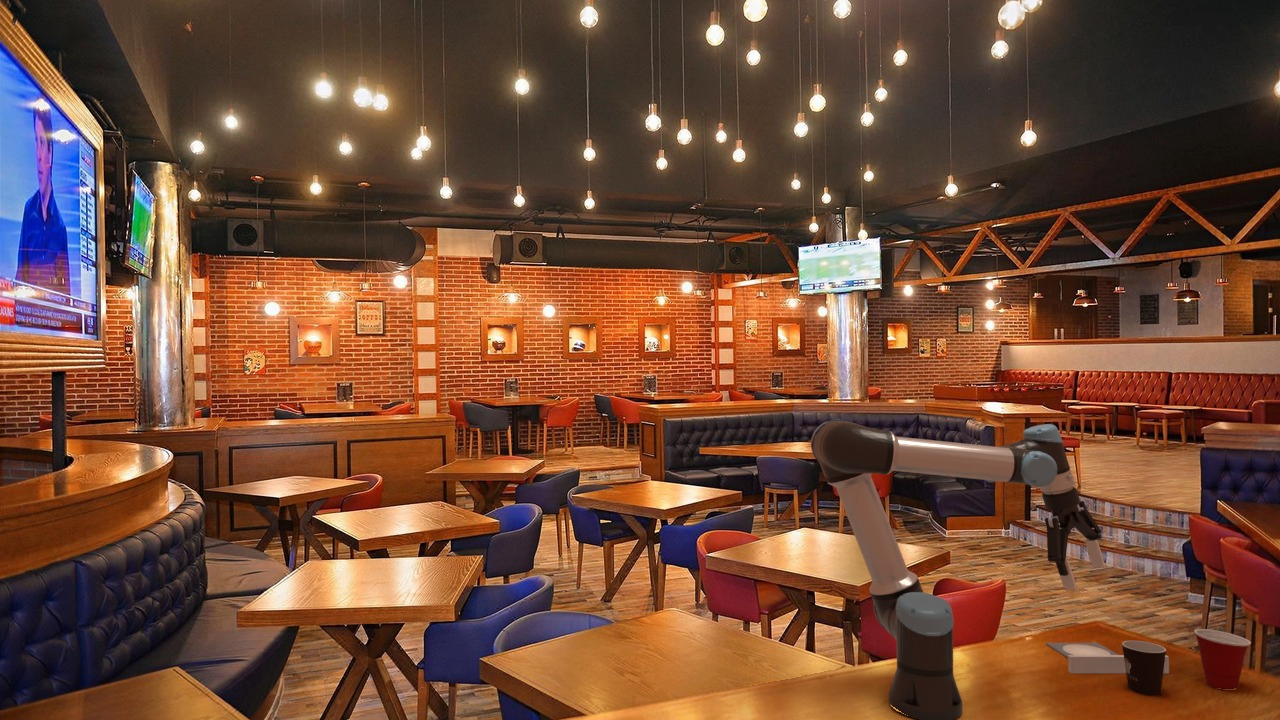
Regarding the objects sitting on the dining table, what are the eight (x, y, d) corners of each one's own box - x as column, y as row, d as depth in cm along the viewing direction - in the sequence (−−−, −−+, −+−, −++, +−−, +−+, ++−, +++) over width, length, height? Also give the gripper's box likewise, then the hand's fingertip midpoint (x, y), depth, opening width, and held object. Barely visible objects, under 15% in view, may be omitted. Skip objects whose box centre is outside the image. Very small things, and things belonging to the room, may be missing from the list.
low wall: (1071, 673, 194) (1070, 656, 195) (1068, 671, 196) (1068, 655, 196) (1169, 673, 195) (1168, 656, 195) (1165, 671, 196) (1165, 655, 196)
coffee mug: (1167, 700, 178) (1166, 655, 178) (1121, 692, 183) (1121, 648, 183) (1166, 684, 188) (1165, 641, 188) (1123, 676, 192) (1123, 634, 193)
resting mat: (1074, 662, 202) (1074, 660, 202) (1046, 644, 216) (1046, 642, 216) (1129, 662, 202) (1129, 660, 202) (1097, 644, 216) (1097, 642, 216)
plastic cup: (1262, 697, 180) (1261, 643, 180) (1208, 693, 182) (1207, 640, 182) (1236, 679, 190) (1235, 629, 191) (1186, 676, 193) (1185, 626, 193)
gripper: (1045, 505, 178) (1073, 598, 177) (1100, 473, 192) (1126, 558, 191) (1014, 506, 184) (1041, 596, 183) (1069, 475, 198) (1094, 558, 197)
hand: (1085, 577), depth 187 cm, fingers open, 13 cm apart
